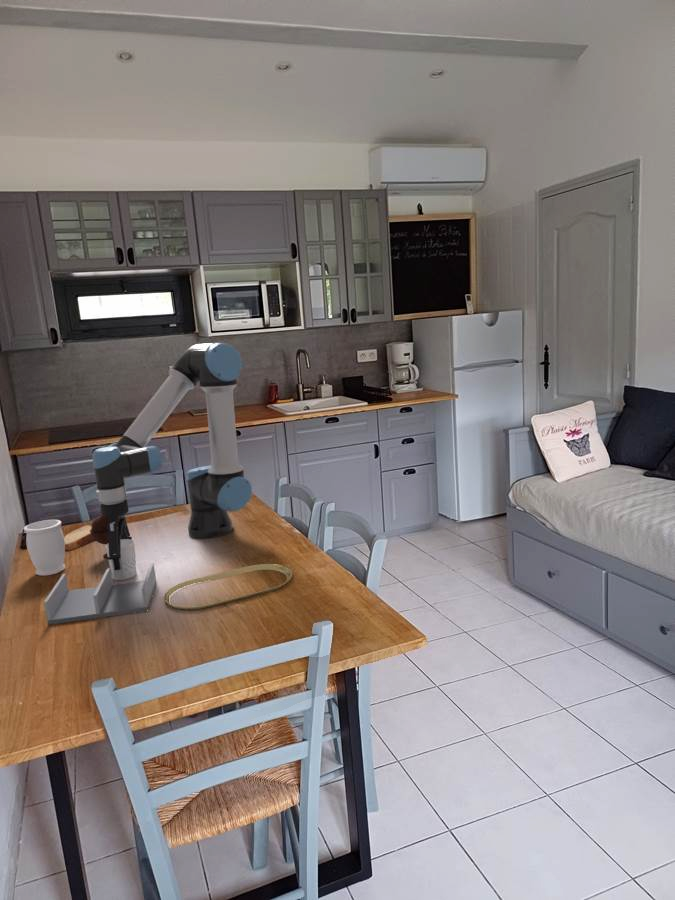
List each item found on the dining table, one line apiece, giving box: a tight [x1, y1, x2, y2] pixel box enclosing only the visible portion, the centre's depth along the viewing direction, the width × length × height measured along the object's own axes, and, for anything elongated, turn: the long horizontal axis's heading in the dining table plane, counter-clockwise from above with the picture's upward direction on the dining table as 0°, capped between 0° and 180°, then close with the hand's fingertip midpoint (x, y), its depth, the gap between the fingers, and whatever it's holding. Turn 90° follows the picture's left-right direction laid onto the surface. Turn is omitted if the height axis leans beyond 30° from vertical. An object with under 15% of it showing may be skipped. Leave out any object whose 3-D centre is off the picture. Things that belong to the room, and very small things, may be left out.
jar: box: [23, 519, 66, 577], centre depth 192 cm, size 11×10×15 cm
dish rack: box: [43, 562, 157, 626], centre depth 167 cm, size 24×18×6 cm
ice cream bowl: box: [90, 514, 110, 560], centre depth 202 cm, size 11×11×15 cm
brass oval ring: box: [163, 563, 293, 611], centre depth 172 cm, size 19×35×2 cm, turn 115°
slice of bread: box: [64, 524, 95, 551], centre depth 221 cm, size 18×18×4 cm
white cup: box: [105, 539, 137, 581], centre depth 185 cm, size 8×8×10 cm
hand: (123, 570), depth 185 cm, fingers open, 12 cm apart
